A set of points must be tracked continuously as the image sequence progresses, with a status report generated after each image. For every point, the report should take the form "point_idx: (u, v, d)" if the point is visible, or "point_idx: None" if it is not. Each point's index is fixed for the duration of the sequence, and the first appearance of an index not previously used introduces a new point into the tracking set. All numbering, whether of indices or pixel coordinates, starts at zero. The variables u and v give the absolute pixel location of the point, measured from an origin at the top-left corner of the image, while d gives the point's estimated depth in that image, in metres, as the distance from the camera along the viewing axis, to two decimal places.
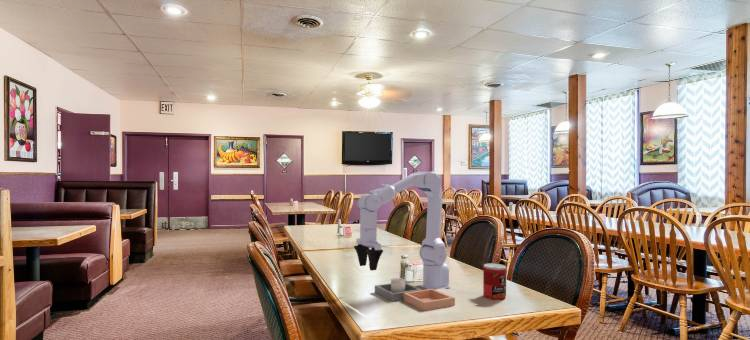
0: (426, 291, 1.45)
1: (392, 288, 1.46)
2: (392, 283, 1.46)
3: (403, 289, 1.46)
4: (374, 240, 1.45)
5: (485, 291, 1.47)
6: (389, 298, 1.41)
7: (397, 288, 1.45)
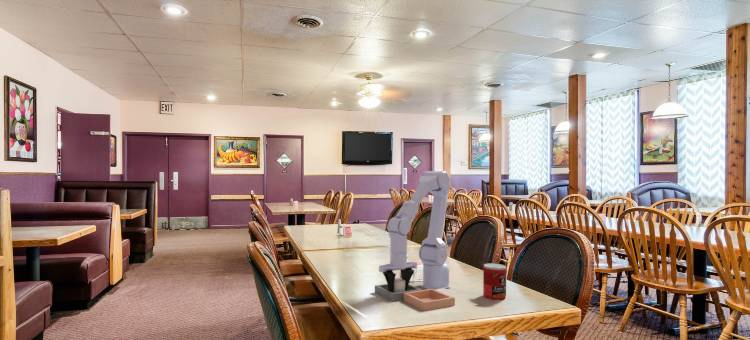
0: (426, 291, 1.45)
1: None
2: None
3: (403, 289, 1.46)
4: (393, 264, 1.46)
5: (485, 291, 1.47)
6: (389, 298, 1.41)
7: (397, 288, 1.45)
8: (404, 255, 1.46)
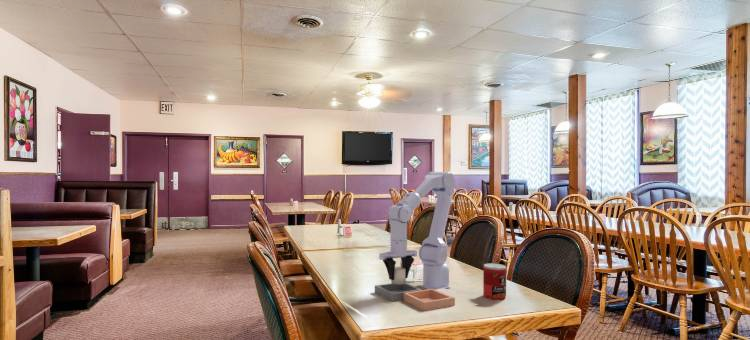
0: (426, 291, 1.45)
1: None
2: None
3: (403, 277, 1.46)
4: (394, 252, 1.46)
5: (485, 291, 1.47)
6: (389, 298, 1.41)
7: (398, 276, 1.45)
8: (404, 243, 1.46)
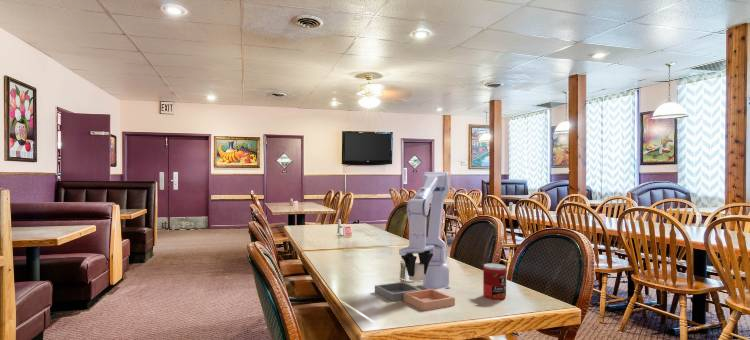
0: (426, 291, 1.45)
1: None
2: None
3: (423, 273, 1.41)
4: (414, 247, 1.40)
5: (485, 291, 1.47)
6: (389, 298, 1.41)
7: (417, 272, 1.40)
8: (424, 237, 1.41)
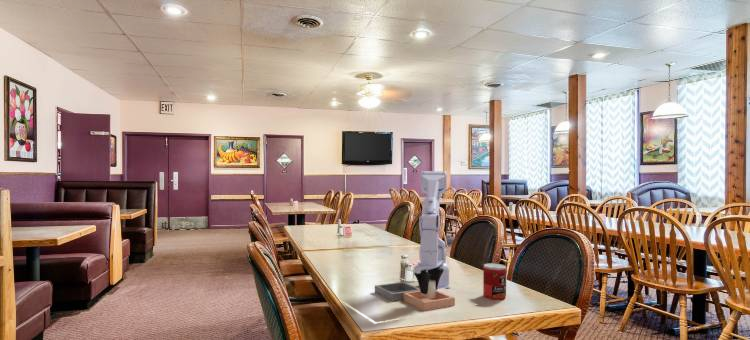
0: None
1: None
2: None
3: (435, 290, 1.38)
4: (427, 264, 1.36)
5: (485, 291, 1.47)
6: (389, 298, 1.41)
7: (430, 289, 1.37)
8: (437, 253, 1.38)
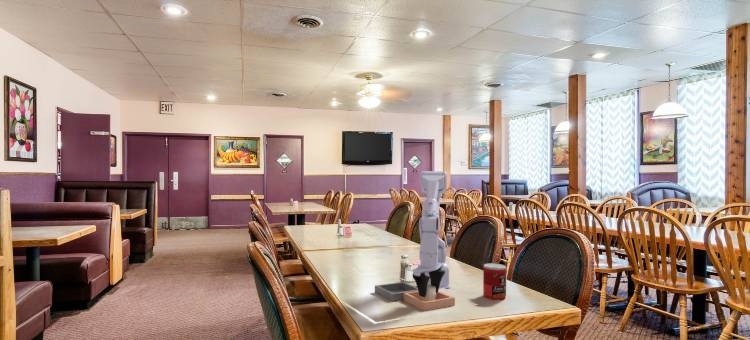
0: None
1: None
2: None
3: (435, 296, 1.38)
4: (427, 266, 1.36)
5: (485, 291, 1.47)
6: (389, 298, 1.41)
7: (431, 296, 1.37)
8: (437, 256, 1.38)
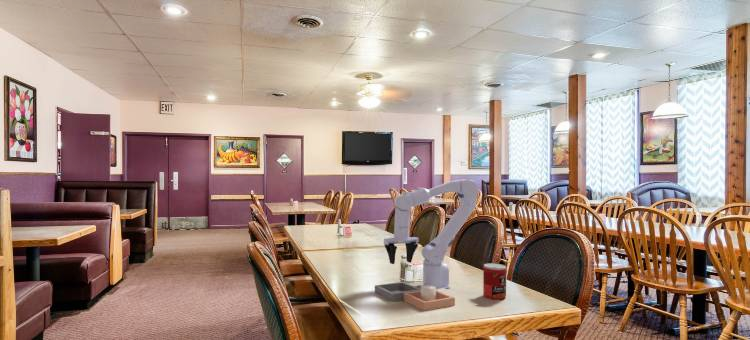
0: None
1: (424, 296, 1.37)
2: (424, 291, 1.37)
3: (435, 296, 1.38)
4: (397, 238, 1.56)
5: (485, 291, 1.47)
6: (389, 298, 1.41)
7: (430, 296, 1.37)
8: (407, 229, 1.57)
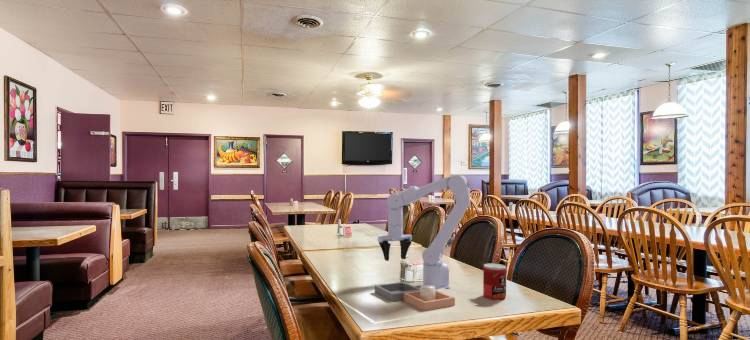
0: None
1: (423, 296, 1.37)
2: (422, 290, 1.38)
3: (434, 296, 1.38)
4: (391, 235, 1.63)
5: (485, 291, 1.47)
6: (389, 298, 1.41)
7: (429, 295, 1.37)
8: (400, 227, 1.63)
